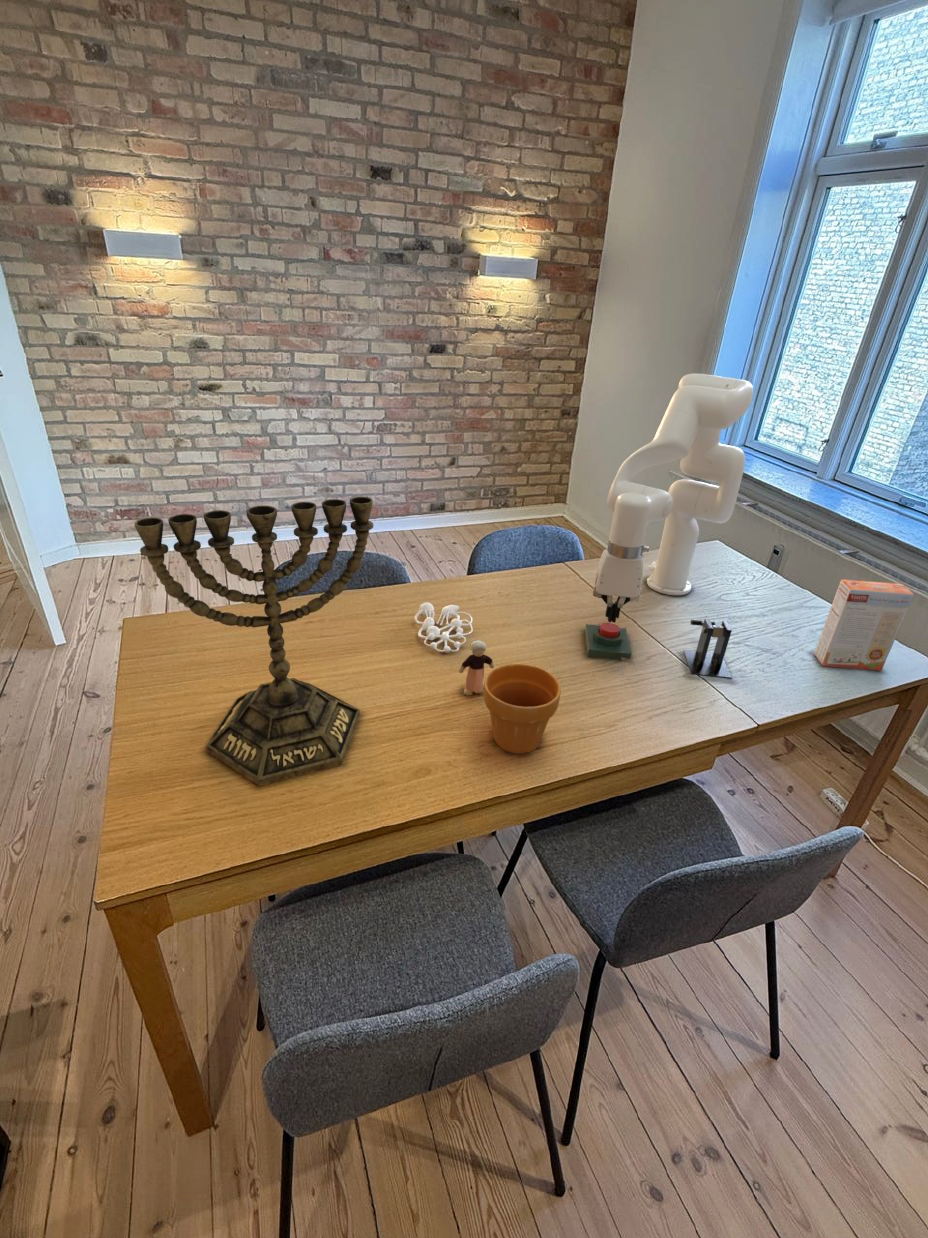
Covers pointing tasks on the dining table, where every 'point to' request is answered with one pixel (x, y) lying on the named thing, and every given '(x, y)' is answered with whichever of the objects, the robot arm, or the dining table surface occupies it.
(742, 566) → the dining table surface
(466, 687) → the grandmother figurine
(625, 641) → the button box
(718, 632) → the switch lever
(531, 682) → the flower pot
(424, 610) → the tangled rod sculpture
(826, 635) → the cracker box
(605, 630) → the red button
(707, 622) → the switch bracket
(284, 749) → the menorah
